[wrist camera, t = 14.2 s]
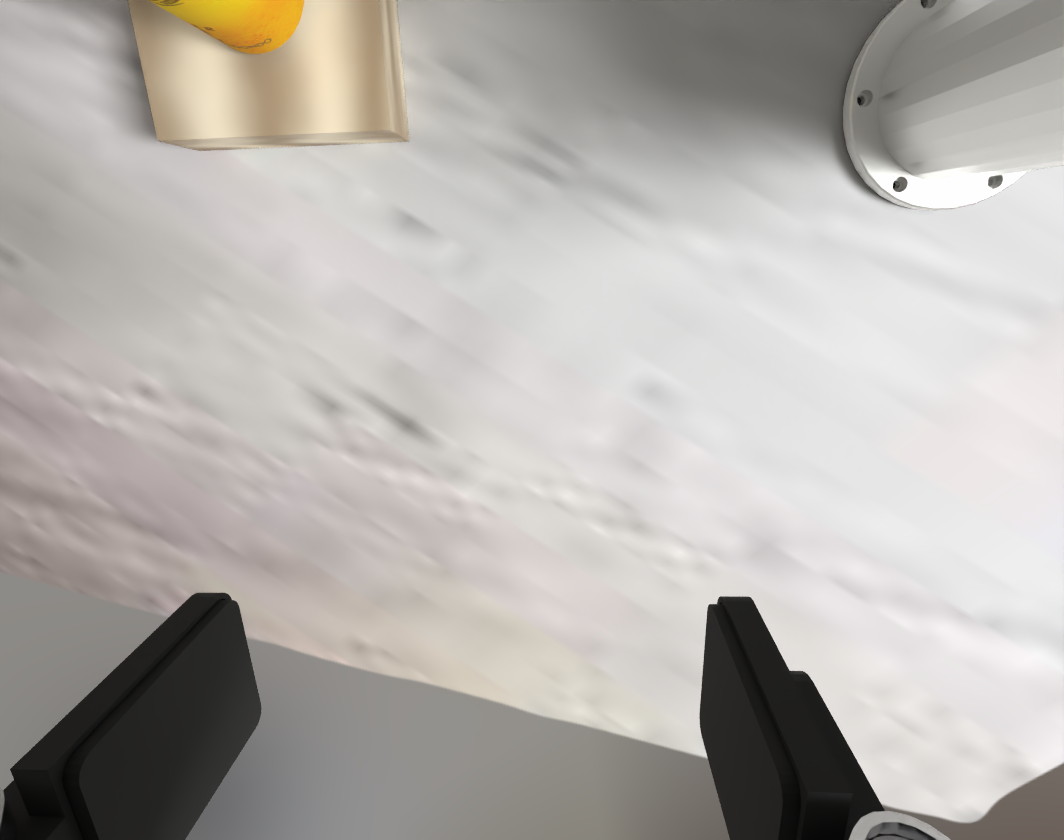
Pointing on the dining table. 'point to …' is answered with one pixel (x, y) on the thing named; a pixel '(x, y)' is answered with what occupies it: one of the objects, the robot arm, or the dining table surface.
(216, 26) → the beer can
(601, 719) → the dining table surface
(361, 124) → the birch plinth
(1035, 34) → the robot arm
